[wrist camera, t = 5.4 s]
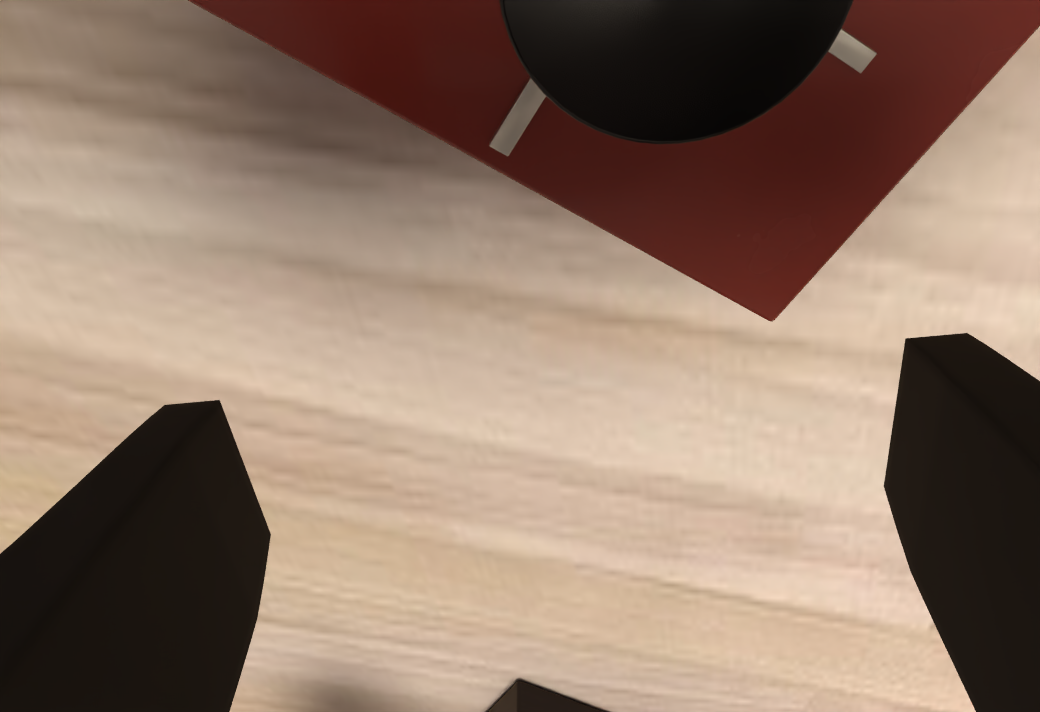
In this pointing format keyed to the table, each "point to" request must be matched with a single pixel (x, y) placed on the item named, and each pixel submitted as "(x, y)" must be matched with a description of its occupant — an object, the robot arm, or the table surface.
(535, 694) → the black lever base
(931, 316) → the table surface
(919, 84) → the dial panel
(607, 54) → the dial
